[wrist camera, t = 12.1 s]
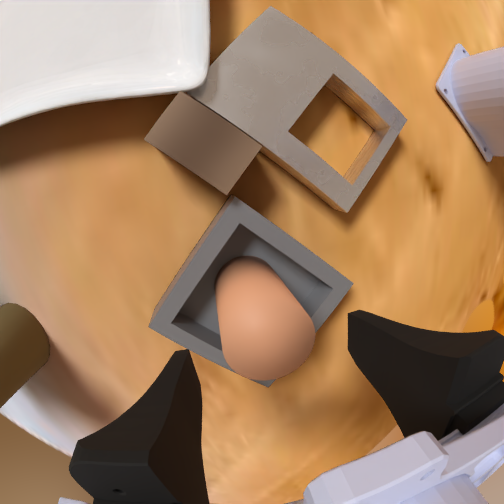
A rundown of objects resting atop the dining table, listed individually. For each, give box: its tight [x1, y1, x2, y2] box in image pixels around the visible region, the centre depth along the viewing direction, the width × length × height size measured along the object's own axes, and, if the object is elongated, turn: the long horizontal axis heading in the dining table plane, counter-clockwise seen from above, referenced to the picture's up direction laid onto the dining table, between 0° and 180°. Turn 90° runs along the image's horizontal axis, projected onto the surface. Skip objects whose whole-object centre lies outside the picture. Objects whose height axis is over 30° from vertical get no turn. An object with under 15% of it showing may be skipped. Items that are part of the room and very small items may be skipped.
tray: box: [149, 194, 354, 387], centre depth 18 cm, size 9×9×2 cm
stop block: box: [144, 91, 262, 195], centre depth 15 cm, size 5×3×4 cm, turn 54°
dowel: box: [214, 255, 315, 381], centre depth 15 cm, size 4×4×7 cm
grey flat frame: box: [187, 6, 407, 213], centre depth 16 cm, size 12×8×2 cm
